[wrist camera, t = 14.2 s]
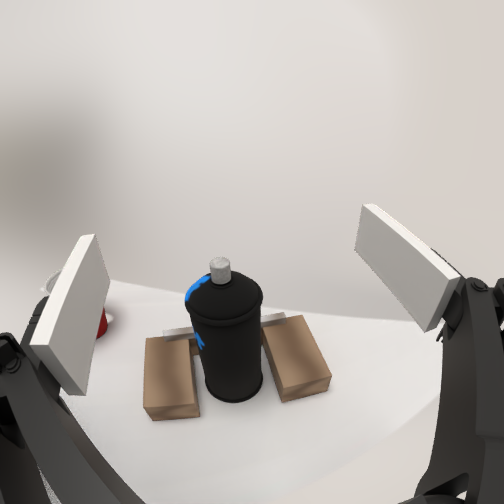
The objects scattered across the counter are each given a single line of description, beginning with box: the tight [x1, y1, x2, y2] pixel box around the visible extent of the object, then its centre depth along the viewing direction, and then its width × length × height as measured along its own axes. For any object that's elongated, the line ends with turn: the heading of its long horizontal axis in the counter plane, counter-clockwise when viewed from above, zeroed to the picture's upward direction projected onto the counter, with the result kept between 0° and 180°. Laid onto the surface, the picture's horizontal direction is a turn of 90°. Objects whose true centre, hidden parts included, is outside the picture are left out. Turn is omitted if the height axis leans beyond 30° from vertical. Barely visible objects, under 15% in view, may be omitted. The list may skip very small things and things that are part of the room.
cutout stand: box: [143, 312, 332, 421], centre depth 37 cm, size 24×12×5 cm, turn 102°
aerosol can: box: [185, 257, 263, 403], centre depth 33 cm, size 8×8×20 cm
